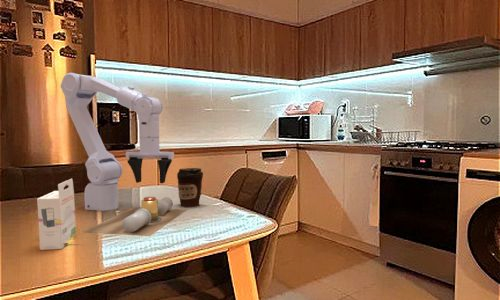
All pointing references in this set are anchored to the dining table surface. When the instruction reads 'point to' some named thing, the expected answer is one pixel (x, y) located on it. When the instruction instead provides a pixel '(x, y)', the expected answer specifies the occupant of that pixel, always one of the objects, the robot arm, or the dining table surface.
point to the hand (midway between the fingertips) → (150, 182)
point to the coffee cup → (189, 186)
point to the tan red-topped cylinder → (151, 207)
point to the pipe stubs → (145, 216)
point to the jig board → (116, 227)
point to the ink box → (56, 217)
